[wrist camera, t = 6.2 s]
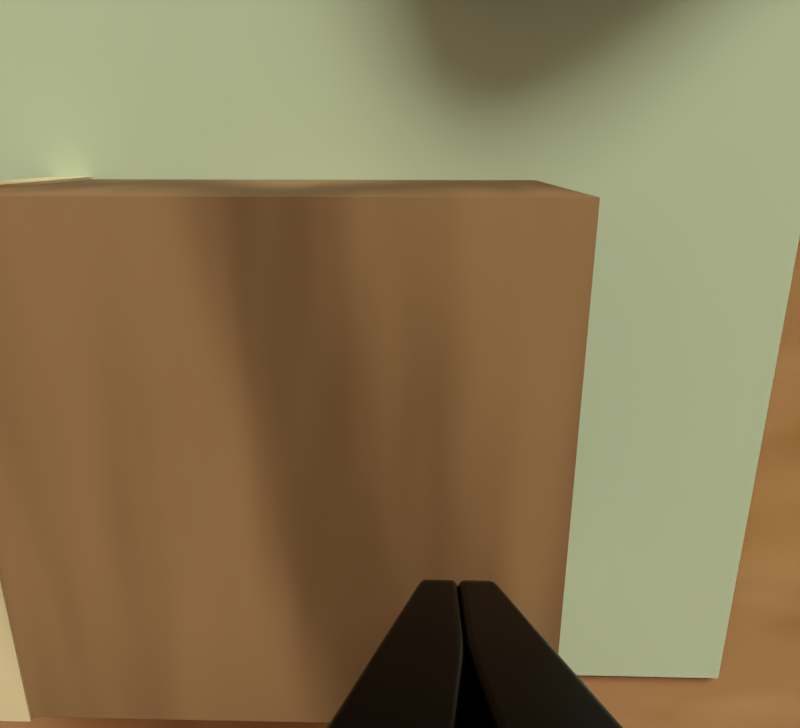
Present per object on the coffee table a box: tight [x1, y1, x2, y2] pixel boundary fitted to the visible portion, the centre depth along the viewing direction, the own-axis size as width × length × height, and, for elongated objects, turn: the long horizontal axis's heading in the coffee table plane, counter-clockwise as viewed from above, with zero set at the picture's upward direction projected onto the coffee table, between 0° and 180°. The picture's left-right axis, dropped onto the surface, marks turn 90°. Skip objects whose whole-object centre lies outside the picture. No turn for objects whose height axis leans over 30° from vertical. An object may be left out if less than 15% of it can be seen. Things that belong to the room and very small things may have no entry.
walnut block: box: [0, 177, 600, 723], centre depth 13 cm, size 5×9×10 cm
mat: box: [0, 0, 800, 678], centre depth 15 cm, size 18×16×1 cm
